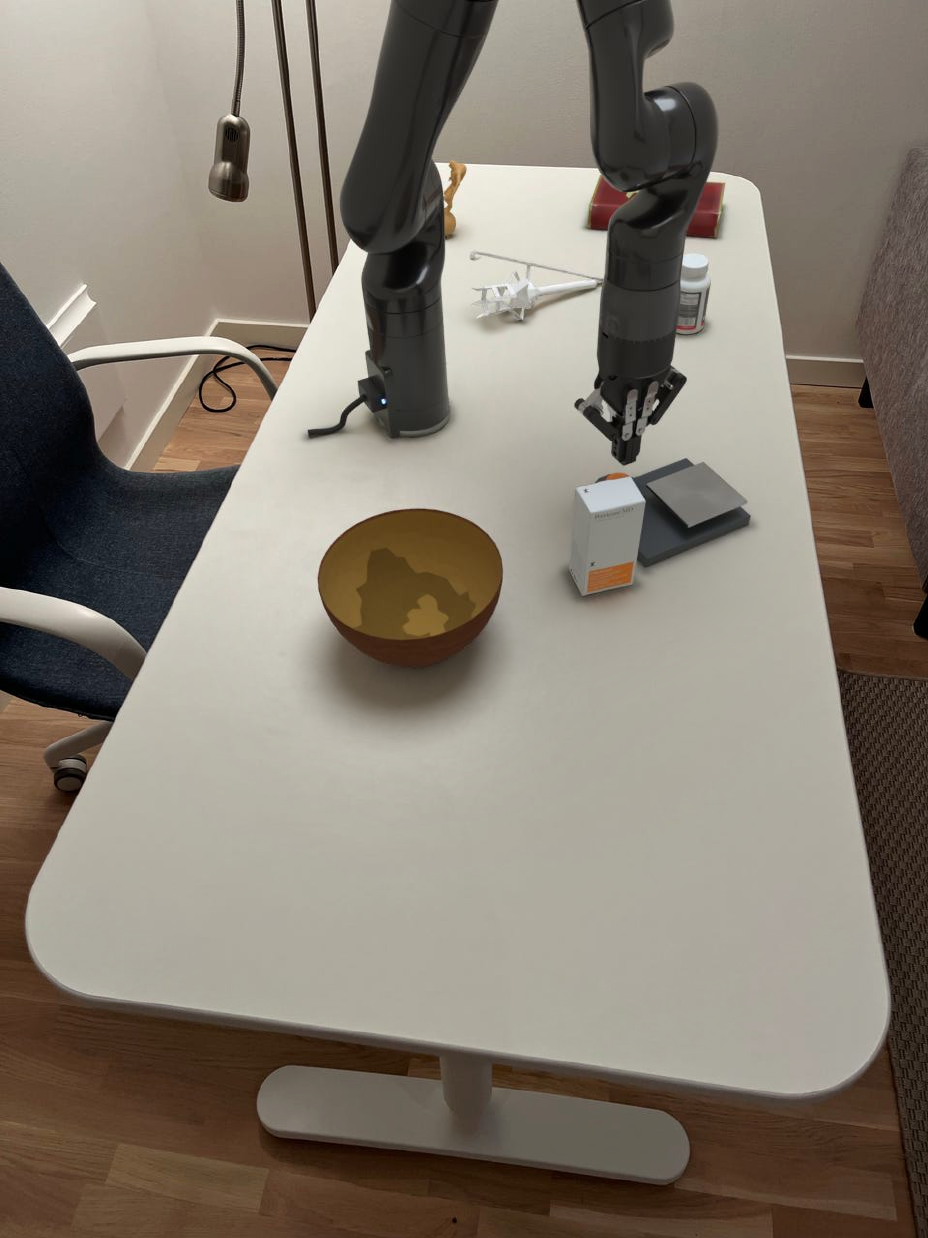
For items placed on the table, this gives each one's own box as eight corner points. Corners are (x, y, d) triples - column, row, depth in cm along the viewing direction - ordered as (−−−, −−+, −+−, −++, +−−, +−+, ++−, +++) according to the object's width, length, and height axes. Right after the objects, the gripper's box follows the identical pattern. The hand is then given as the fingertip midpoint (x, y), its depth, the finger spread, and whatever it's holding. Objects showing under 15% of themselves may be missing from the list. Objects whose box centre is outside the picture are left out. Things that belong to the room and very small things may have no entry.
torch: (593, 342, 147) (456, 318, 134) (599, 283, 146) (461, 253, 133) (619, 339, 142) (478, 313, 129) (625, 278, 140) (484, 245, 128)
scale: (642, 569, 101) (644, 549, 99) (581, 503, 109) (582, 484, 107) (748, 524, 105) (753, 504, 103) (682, 464, 113) (686, 444, 111)
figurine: (433, 223, 158) (428, 150, 149) (468, 222, 158) (465, 148, 149) (432, 247, 153) (427, 172, 144) (469, 245, 153) (466, 170, 144)
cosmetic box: (582, 598, 99) (588, 513, 90) (568, 571, 101) (573, 486, 93) (635, 585, 100) (647, 500, 91) (620, 559, 102) (630, 473, 93)
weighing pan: (688, 527, 101) (688, 525, 101) (645, 486, 106) (645, 483, 105) (747, 503, 103) (748, 500, 103) (702, 464, 108) (703, 461, 108)
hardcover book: (716, 238, 151) (721, 213, 147) (587, 229, 155) (589, 204, 151) (721, 206, 158) (725, 180, 155) (598, 197, 162) (600, 173, 159)
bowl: (377, 561, 104) (366, 492, 96) (527, 599, 99) (528, 530, 91) (302, 679, 93) (283, 611, 85) (467, 728, 88) (462, 661, 81)
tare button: (614, 504, 104) (615, 492, 103) (599, 489, 106) (600, 477, 105) (636, 495, 105) (638, 483, 104) (621, 481, 107) (623, 469, 106)
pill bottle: (683, 311, 136) (692, 246, 129) (711, 325, 133) (722, 260, 126) (657, 324, 134) (665, 260, 127) (686, 339, 131) (696, 274, 124)
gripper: (671, 281, 94) (654, 423, 107) (559, 319, 90) (555, 461, 103) (718, 314, 89) (694, 458, 102) (602, 355, 86) (592, 499, 98)
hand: (624, 459), depth 103 cm, fingers closed
